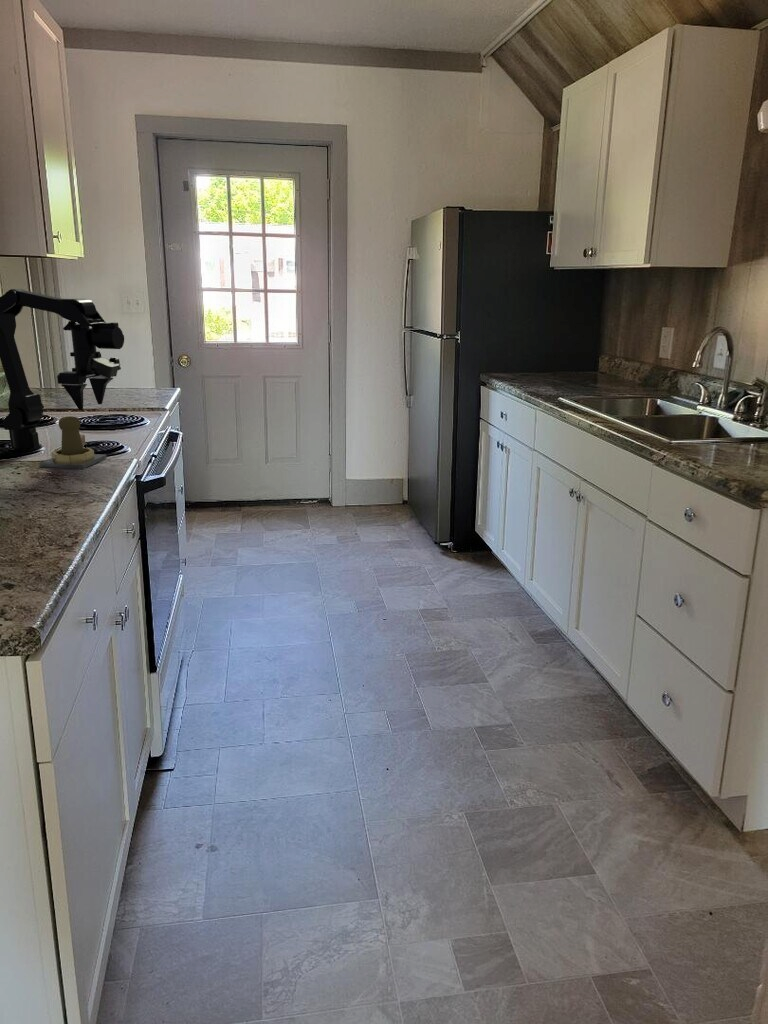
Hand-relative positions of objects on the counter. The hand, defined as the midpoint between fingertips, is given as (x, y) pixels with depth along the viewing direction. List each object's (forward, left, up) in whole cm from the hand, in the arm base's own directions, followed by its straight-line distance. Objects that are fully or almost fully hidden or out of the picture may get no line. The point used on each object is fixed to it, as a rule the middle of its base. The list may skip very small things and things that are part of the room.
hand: (90, 406), depth 206 cm
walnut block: (-8, +3, -13) cm, 16 cm away
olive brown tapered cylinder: (0, -11, -12) cm, 16 cm away
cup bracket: (0, -11, -13) cm, 17 cm away
